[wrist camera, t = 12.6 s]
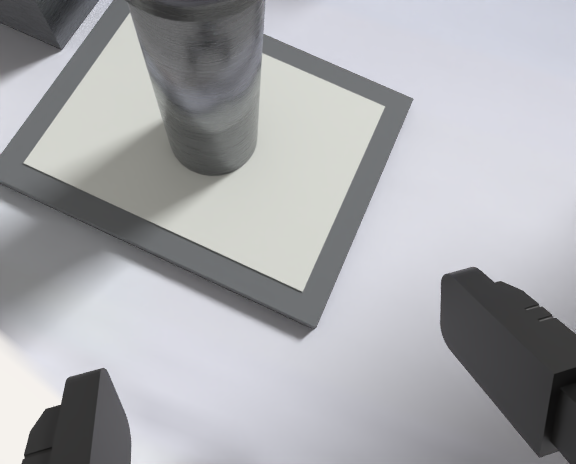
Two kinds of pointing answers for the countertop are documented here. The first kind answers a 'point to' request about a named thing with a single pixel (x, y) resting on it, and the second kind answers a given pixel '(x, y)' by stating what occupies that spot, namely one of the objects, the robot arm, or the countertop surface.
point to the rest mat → (213, 189)
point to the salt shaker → (204, 76)
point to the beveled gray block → (46, 18)
